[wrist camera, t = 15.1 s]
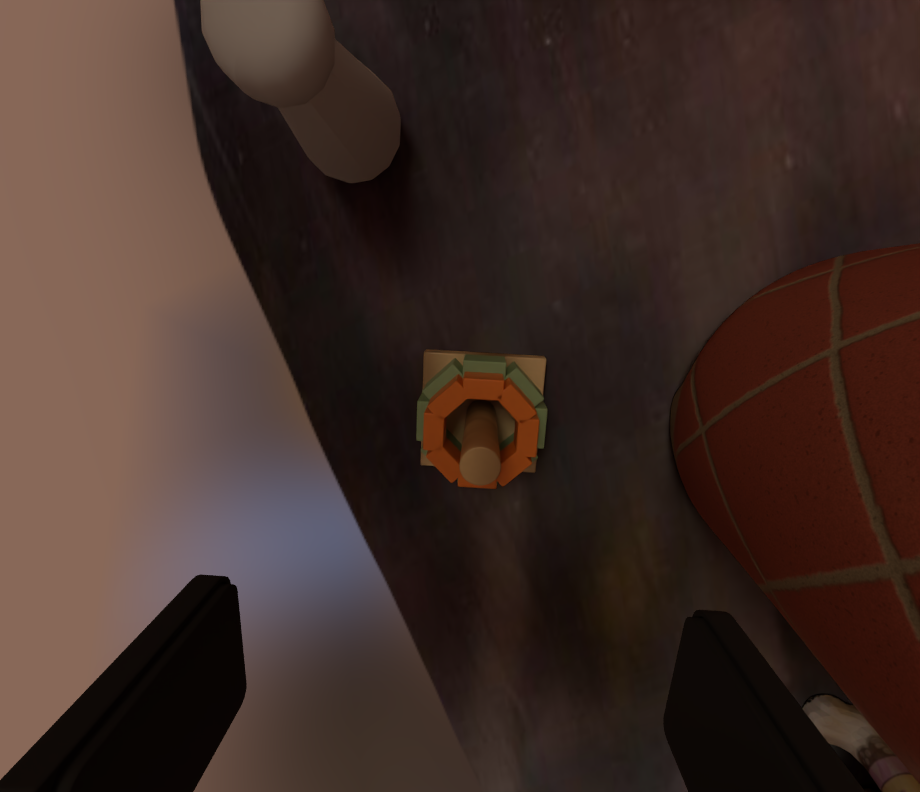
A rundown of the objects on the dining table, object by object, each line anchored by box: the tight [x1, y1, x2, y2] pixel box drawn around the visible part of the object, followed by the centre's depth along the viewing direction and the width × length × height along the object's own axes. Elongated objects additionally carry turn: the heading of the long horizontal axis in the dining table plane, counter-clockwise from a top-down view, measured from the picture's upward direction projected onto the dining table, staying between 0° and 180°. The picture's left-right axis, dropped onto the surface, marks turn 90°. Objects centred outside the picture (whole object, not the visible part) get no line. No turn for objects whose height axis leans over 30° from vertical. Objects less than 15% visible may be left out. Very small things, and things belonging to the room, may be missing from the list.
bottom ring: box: [416, 354, 548, 484], centre depth 28 cm, size 8×8×2 cm
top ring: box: [423, 372, 540, 489], centre depth 26 cm, size 7×7×2 cm
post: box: [421, 349, 546, 486], centre depth 26 cm, size 8×8×10 cm
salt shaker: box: [201, 0, 401, 183], centre depth 20 cm, size 6×6×13 cm
